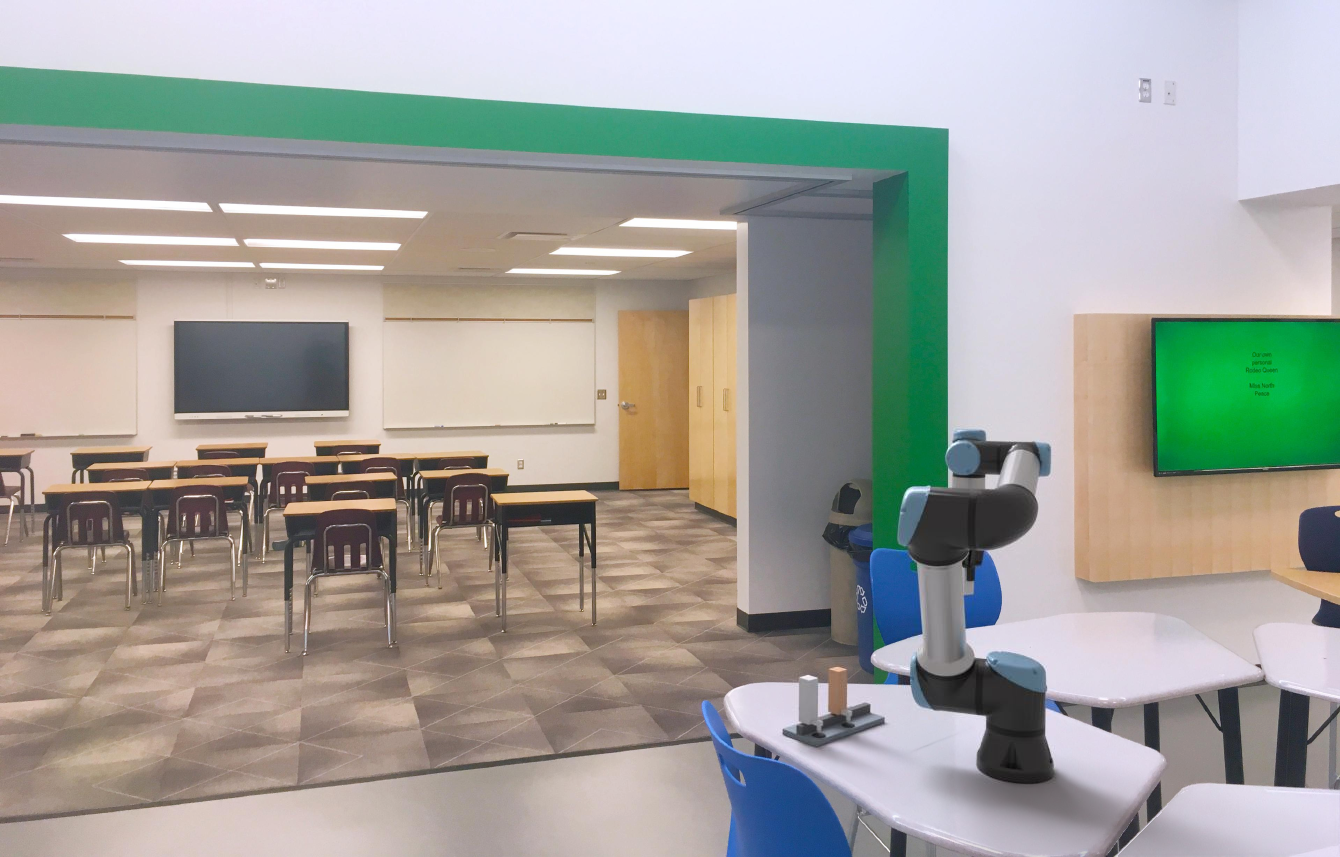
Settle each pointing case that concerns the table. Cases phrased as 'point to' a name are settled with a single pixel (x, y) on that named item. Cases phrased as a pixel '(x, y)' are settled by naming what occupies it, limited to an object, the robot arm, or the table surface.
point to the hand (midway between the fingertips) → (966, 593)
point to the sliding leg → (838, 692)
